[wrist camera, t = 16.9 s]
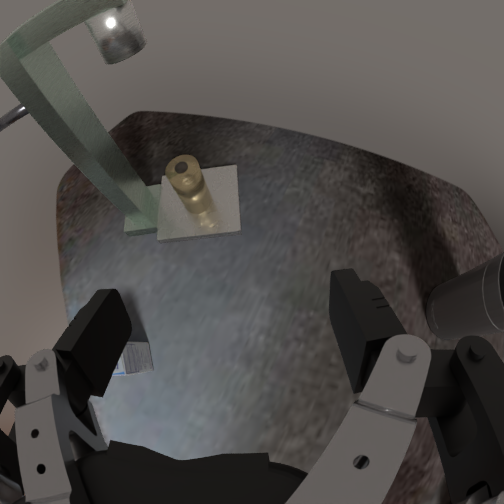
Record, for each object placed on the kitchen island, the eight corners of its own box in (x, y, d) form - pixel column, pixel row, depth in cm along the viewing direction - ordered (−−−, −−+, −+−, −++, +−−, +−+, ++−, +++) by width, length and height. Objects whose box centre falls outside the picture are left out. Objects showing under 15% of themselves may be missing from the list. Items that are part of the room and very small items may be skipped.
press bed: (237, 169, 46) (189, -54, 11) (241, 234, 42) (163, -39, 7) (89, 196, 47) (-29, 68, 12) (79, 253, 43) (-78, 140, 8)
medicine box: (149, 342, 37) (120, 339, 29) (154, 371, 36) (125, 375, 28) (107, 346, 38) (73, 344, 29) (111, 374, 36) (78, 376, 28)
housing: (211, 187, 43) (198, 151, 34) (212, 211, 42) (197, 178, 33) (184, 191, 43) (166, 156, 35) (184, 215, 42) (163, 183, 33)
